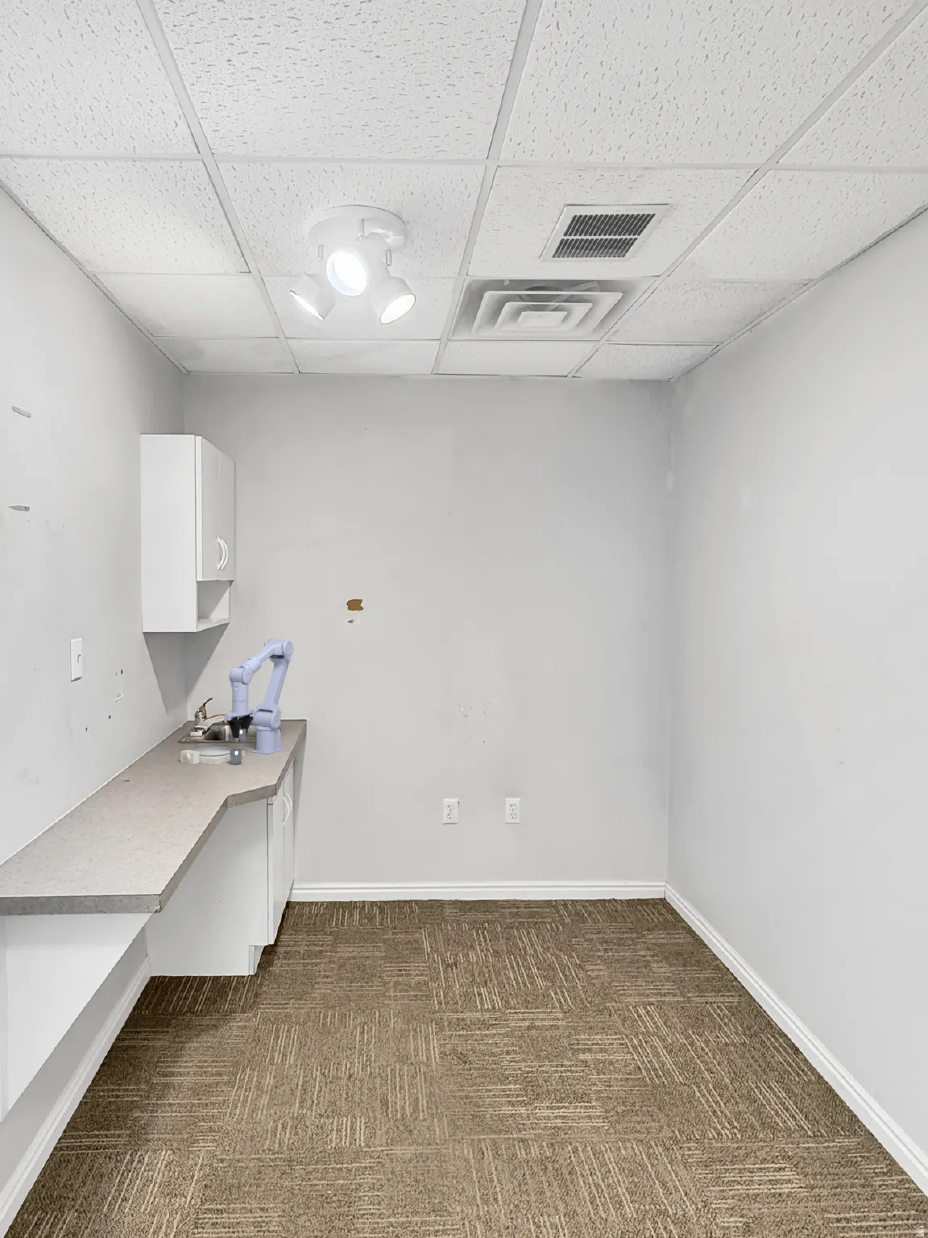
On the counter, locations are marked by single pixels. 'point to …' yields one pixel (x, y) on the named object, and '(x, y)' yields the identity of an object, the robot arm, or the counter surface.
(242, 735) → the cylinder
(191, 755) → the scale
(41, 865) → the counter surface
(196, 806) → the counter surface
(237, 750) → the cylinder
